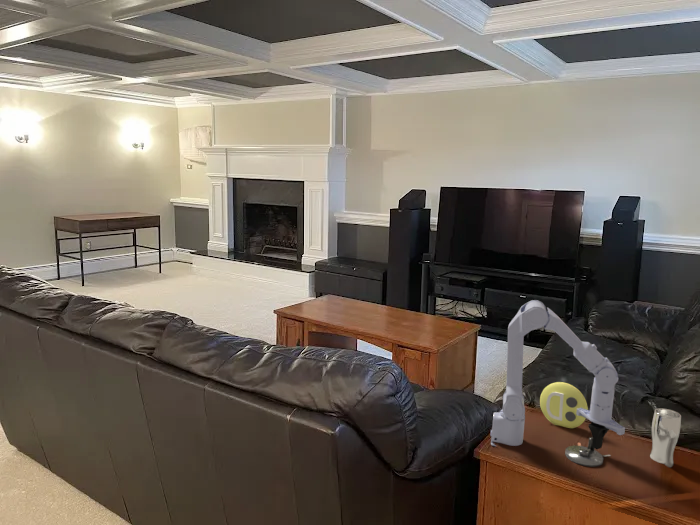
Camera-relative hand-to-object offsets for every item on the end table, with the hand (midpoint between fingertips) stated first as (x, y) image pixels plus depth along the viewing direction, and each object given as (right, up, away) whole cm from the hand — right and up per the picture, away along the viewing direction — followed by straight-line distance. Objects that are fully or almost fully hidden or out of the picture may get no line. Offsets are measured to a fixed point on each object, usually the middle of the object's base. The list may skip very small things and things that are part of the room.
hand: (596, 447), depth 158 cm
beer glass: (+18, -4, -1) cm, 19 cm away
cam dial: (-5, -2, -2) cm, 6 cm away
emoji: (-3, 0, +19) cm, 19 cm away
